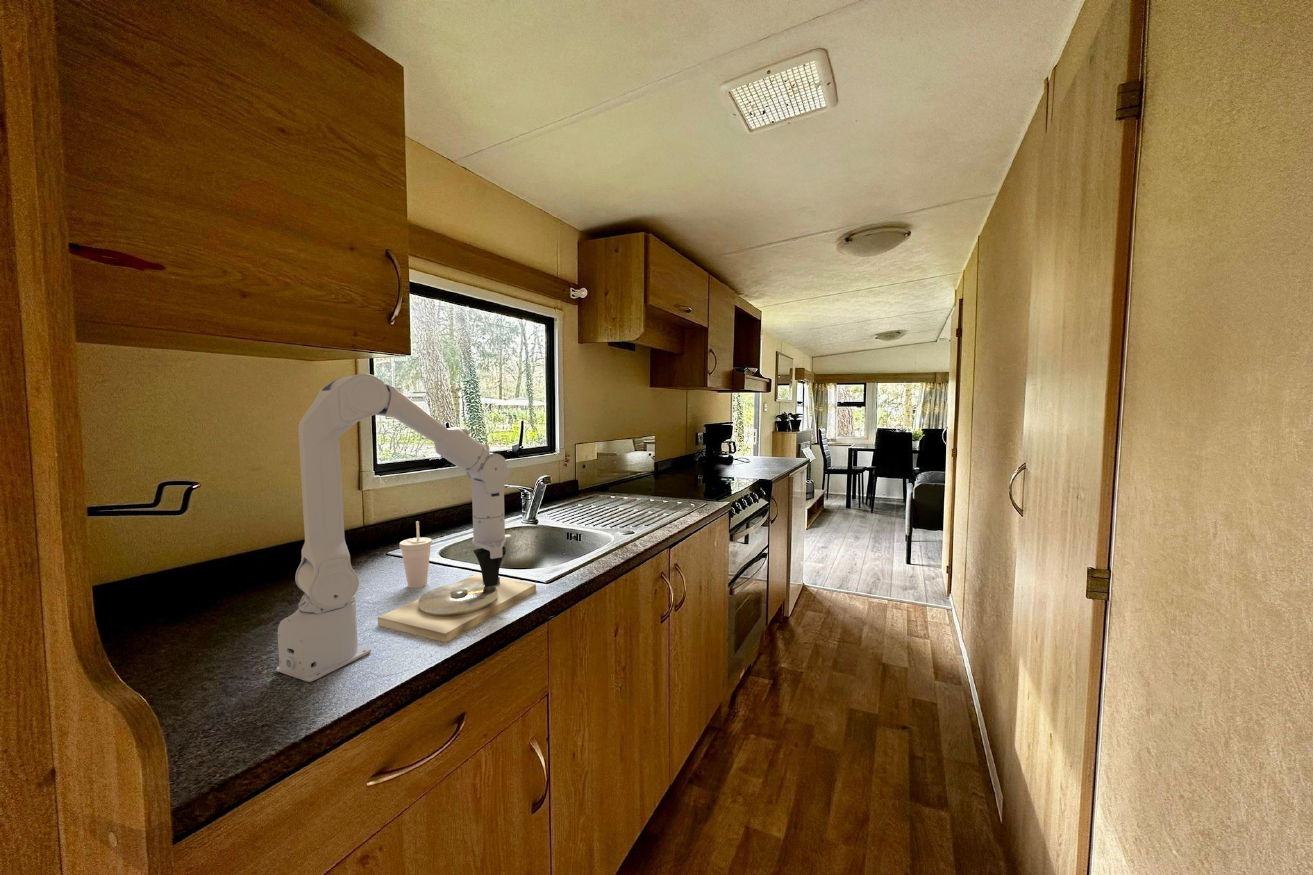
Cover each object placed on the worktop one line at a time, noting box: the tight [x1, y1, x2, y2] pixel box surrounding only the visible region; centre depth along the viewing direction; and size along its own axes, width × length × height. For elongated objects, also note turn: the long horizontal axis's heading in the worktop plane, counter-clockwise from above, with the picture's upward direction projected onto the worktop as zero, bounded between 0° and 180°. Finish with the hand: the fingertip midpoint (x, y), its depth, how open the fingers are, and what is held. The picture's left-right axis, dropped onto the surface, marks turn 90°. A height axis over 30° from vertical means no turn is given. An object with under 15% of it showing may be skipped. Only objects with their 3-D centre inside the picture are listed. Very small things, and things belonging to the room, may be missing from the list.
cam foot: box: [418, 582, 498, 616], centre depth 94 cm, size 14×14×5 cm
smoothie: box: [399, 520, 433, 589], centre depth 106 cm, size 6×6×14 cm
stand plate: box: [377, 573, 537, 643], centre depth 95 cm, size 24×16×3 cm, turn 157°
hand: (490, 585), depth 94 cm, fingers closed
